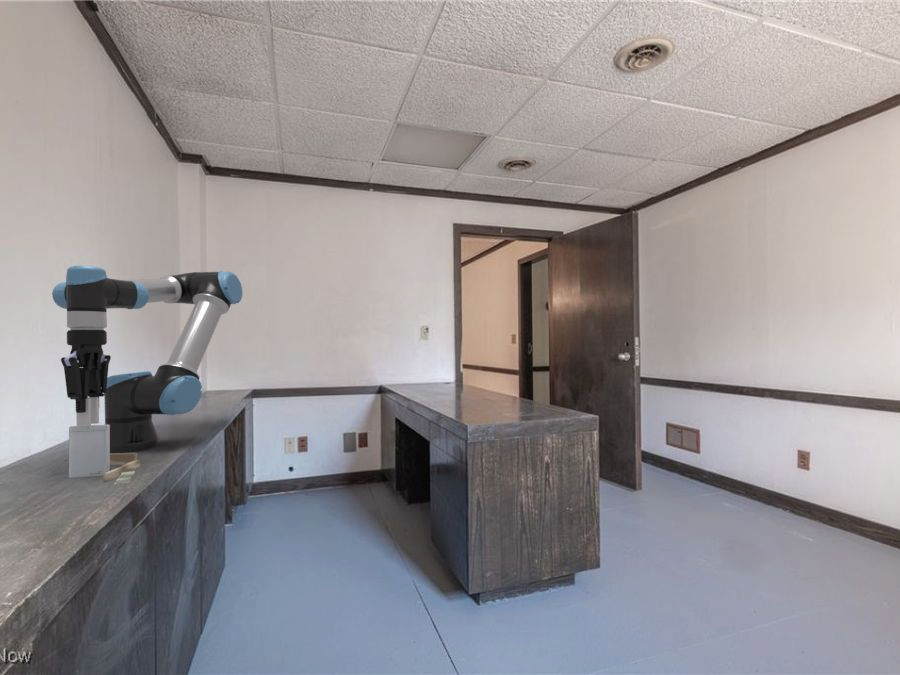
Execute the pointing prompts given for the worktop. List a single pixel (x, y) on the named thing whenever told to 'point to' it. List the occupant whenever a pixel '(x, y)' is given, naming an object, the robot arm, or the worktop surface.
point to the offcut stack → (125, 477)
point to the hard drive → (89, 450)
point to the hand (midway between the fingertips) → (88, 424)
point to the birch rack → (123, 459)
